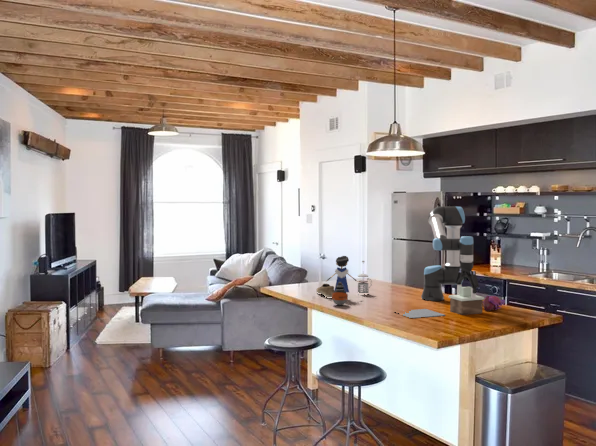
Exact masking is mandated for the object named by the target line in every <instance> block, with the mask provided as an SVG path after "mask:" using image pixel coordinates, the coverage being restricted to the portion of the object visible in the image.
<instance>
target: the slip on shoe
mask: <svg viewBox="0 0 596 446" xmlns="http://www.w3.org/2000/svg"><path fill="white" fill-rule="evenodd" d="M334 291H335V286H334V285H330V284H328V283H322V285H321V286H319V287H317V288H316V291H315V292H316V293H317V292H318V293H321V294H323V295H324V296H326V297H332V294H333V293H334ZM323 295H322V296H323ZM324 296H323V297H324Z"/></svg>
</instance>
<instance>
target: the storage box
mask: <svg viewBox="0 0 596 446" xmlns="http://www.w3.org/2000/svg"><path fill="white" fill-rule="evenodd" d="M449 299H450V301H449V302H450V303H449V304H450V307H449V311H450V313H454V314H458V315H460V316H467V315H468V316H469V315H477V314H483V306H484V305H483V301H484V299H482V300H469V301H459V300H456V299H452V298H449Z"/></svg>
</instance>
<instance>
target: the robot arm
mask: <svg viewBox="0 0 596 446" xmlns="http://www.w3.org/2000/svg"><path fill="white" fill-rule="evenodd" d="M427 221H428V224H429V225H430V226H431V230H432V233H433V237H434V238H433V239H432V248H433V249H432V250H434V251H439V252H441V251H446V262H445V264H444V266H442V265H439V264H438V265H436V264H435V265H429V266H426V267H425V268H424V270H423V289H422V293H421V298H422V299H421V300H423V299H425V300H424V301H428V300H431V301H430V302H441V301H444V300H445V297H444V293H443V289H442V285H454V286H456V293H457V294H456V295H460V287H463V285H462V284H463V282H464V279H465V278H466V279H467V280H468V281H469V284H470V287H472V288H471V299H476V295H477V289H478V288H479V287H480V285H479V281H478V278H477V271H476V270H472V269H473V268H474V237H473V236H470V235H469V236H467V235H466V236H465V235H464V236H463V235H462V236H461V235H460V234H461V228H462V226H463V224H465V221H466V216H465V212H464V209H463V207H462V206H455V205H454V206H449V205H448V206H436V207H434V208H433V209H431V211H430V212H429V213H428V216H427ZM445 228H446V230H445Z"/></svg>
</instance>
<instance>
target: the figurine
mask: <svg viewBox="0 0 596 446" xmlns="http://www.w3.org/2000/svg"><path fill="white" fill-rule="evenodd" d="M349 259H350V258H349V257H348V256H347V255H342V256H338V257H337V258H336V259H335V264H336V266H337V267H336V269H334V273H333V274H332V275H331V276H330V277H329V278H327V280H325V282H328V281H329V280H330V279H332V278H333V277H334V276H335V275H337V278H336V283H335V286H334V291H335V290H336V286H337V285H338V282H342V285H344V286H343V287H345V288H344V289H343V290H344V291H345V292H346V291H347V292H346V293H350V289H349V286H348V280H347V276H346V275H348V276H349V277H350V278H351V279H353V281H355V282H356V283H359V282H358V281H359V280H357V279H355V277H353V276H352V275H351V274H350V273H349V269H348V268H347V265H348V262H349ZM345 289H346V290H345Z"/></svg>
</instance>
